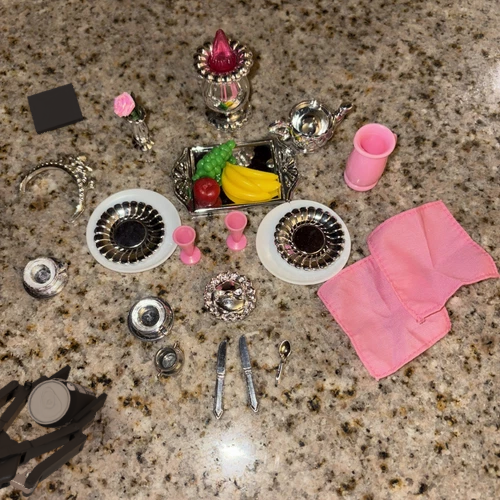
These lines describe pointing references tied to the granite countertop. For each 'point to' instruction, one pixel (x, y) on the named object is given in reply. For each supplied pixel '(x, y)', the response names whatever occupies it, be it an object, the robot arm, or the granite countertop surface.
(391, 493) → the granite countertop surface
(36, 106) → the mat
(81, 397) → the beverage can
